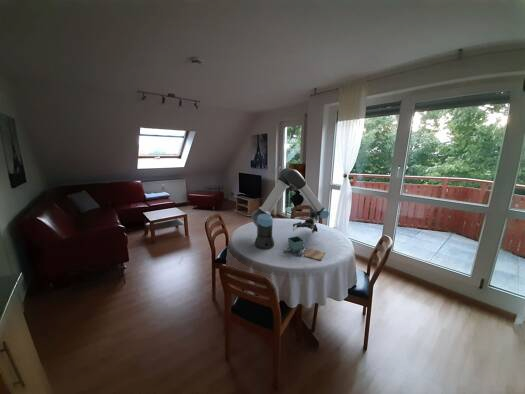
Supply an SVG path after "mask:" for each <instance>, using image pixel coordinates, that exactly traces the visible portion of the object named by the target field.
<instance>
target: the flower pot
mask: <svg viewBox="0 0 525 394" xmlns="http://www.w3.org/2000/svg"><path fill="white" fill-rule="evenodd" d="M287 241H288V245H289V249H290V251H292V252H296V253H299V252H301V251H302V248H303V246H304V244H305V240H304V239H302V238H301V237H300V236H298V235H295V236H291V237H288V238H287Z"/></svg>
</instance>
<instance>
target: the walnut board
mask: <svg viewBox="0 0 525 394" xmlns="http://www.w3.org/2000/svg"><path fill="white" fill-rule="evenodd" d="M325 255H326V252H325V251H321V250H318V249H314V248H309V247H308V248H307V250H306V251H305V252H304V253H303V257H306V258H309V259H312V260H317V261H319V262H321V261H322V259H323V257H324V256H325Z"/></svg>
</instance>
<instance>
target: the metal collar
mask: <svg viewBox="0 0 525 394" xmlns="http://www.w3.org/2000/svg"><path fill="white" fill-rule="evenodd" d="M289 249H290V247H289V244H288V245H287V246H286V247H284V249H283V253H286V254H290V255H293V256H298V257H300V258H301V257H302V256H304V254H305V253H306V251H307V250H308V247H307V246H305V245H303V248H302V249H303V250H302V249H301V251H300V253H299V252H293V251H292V250H289Z"/></svg>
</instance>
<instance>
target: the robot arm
mask: <svg viewBox="0 0 525 394" xmlns="http://www.w3.org/2000/svg"><path fill="white" fill-rule="evenodd" d="M307 183H308V182H307V181H306V179H305V178H304V176H303V175H302V174H301V173H300V172H299V171H298V170H297V169H294V168H290V167H284V168H282V169H281V170H280V171H279V174H278V177H277V182H276V184H275V186H274V187H273V189H272V191H271V192H269V195H268V196H267V198H266V199H265V201H264V203H263V204H262V205H261V206H259V207H258V208H257V210H254V212H252V214H251V220H252V223H253V224H254V225H255V227H256V228H257V229H256V238H255V240H254V246H255V248H257V249H259V250H270V249H271V248H274V246H275V240H274V237H273V224H274V220H273V216H272V214H271V212H272V211H273V209H274V208H275V206H276V205H277V203H278V201H279V200H280V199H281V198H282V195H283V194H284V193H285V190H286V189H288V188H290V187H291V186H292V187H294V189H295V190H296V191H299V192H300V194H301V195H302V197H303V198H304V199H305V201H307V203H308V204H309V212H308V213H309V214H308V217H307V219H305V221H304V222H302V221H299V222H295V223H293V224H292V232H294V231H296V230H297V228H308V229H310V230H309V235H310V236H311V235H312V234H314V233H315V232H316V233H317V232H318V227H317V224H316V223H318V221H319V218H321V219H324V220H325V219H327V218H329V216H330V213H329V210H328V209H325V207H324V206H323V204H322V203H321V202H320V200H319V199H318V198H317V196H316V195H315V194H314V192H313V191H312V190H311V188H310V187H309V185H308V184H307Z"/></svg>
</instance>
